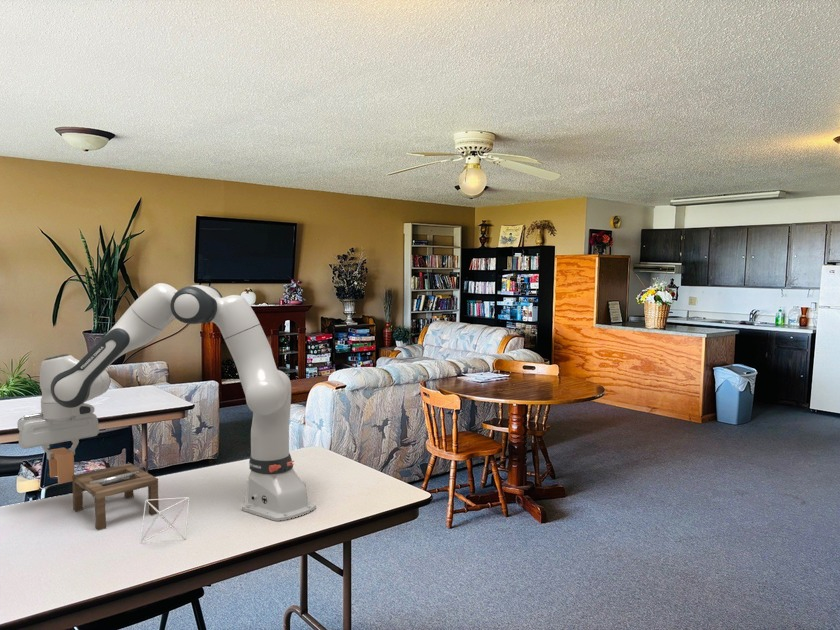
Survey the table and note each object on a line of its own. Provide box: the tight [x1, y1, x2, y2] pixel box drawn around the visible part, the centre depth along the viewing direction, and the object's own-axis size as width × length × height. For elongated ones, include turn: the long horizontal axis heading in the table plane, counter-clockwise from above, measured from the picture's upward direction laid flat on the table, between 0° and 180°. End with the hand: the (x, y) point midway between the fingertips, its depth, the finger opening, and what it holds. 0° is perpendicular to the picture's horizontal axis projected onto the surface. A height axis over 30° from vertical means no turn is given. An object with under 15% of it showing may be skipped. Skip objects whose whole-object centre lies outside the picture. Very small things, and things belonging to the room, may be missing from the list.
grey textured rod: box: [90, 471, 139, 486], centre depth 170 cm, size 2×13×2 cm, turn 136°
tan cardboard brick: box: [48, 447, 75, 485], centre depth 175 cm, size 9×4×8 cm, turn 47°
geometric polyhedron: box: [139, 496, 190, 544], centre depth 155 cm, size 12×11×9 cm
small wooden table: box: [71, 462, 160, 531], centre depth 170 cm, size 20×16×10 cm
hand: (61, 456), depth 175 cm, fingers closed on tan cardboard brick, 4 cm apart
